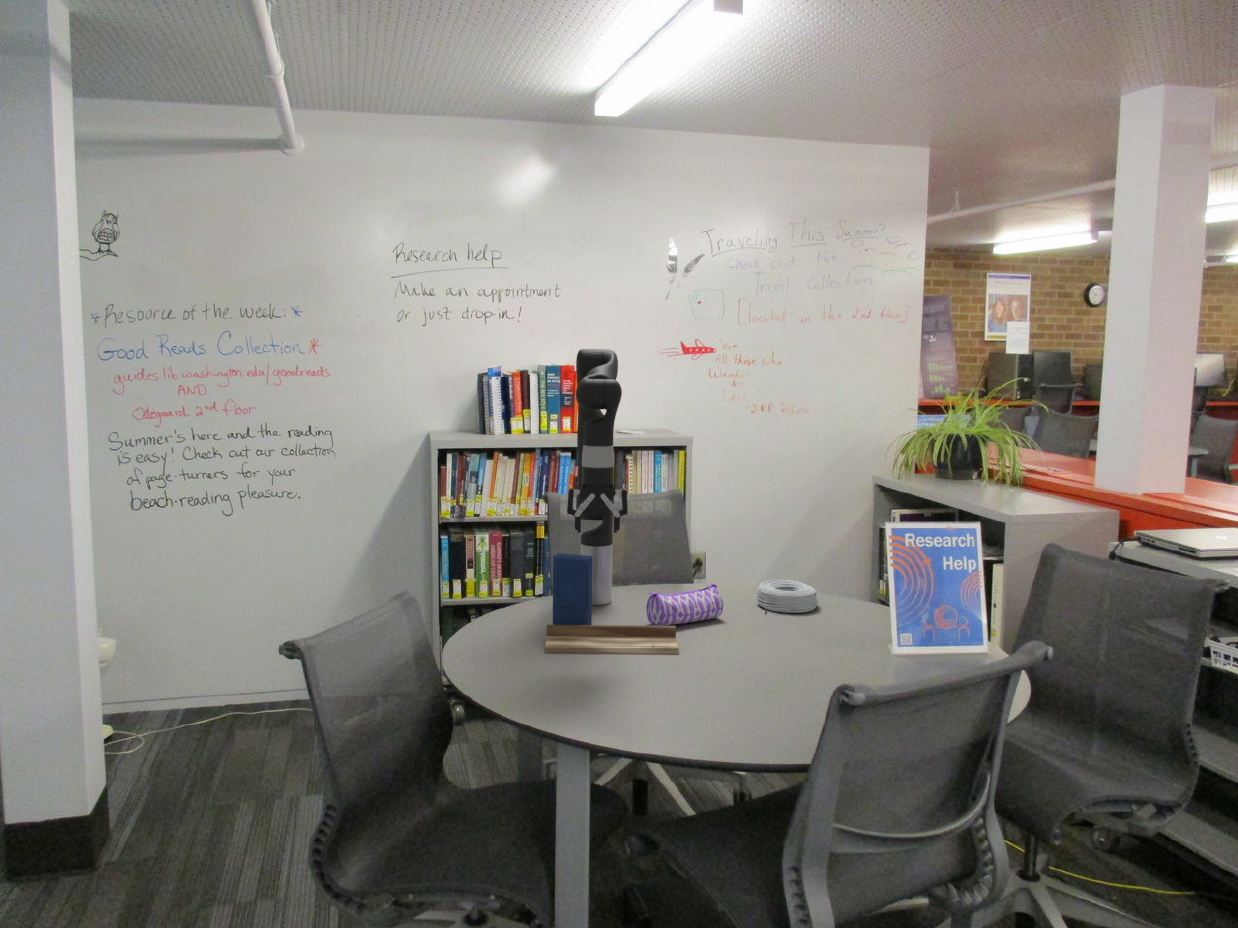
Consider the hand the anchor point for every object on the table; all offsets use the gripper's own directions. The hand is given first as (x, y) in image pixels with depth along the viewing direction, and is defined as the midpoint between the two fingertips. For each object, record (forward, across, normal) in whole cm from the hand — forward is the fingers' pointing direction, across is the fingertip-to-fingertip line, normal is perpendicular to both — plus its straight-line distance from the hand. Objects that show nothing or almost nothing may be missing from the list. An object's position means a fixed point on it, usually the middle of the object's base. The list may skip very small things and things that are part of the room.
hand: (597, 532), depth 207 cm
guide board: (+29, -4, -3) cm, 30 cm away
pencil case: (+30, -24, -25) cm, 45 cm away
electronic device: (+29, +6, -15) cm, 33 cm away
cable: (+30, -55, -42) cm, 76 cm away
